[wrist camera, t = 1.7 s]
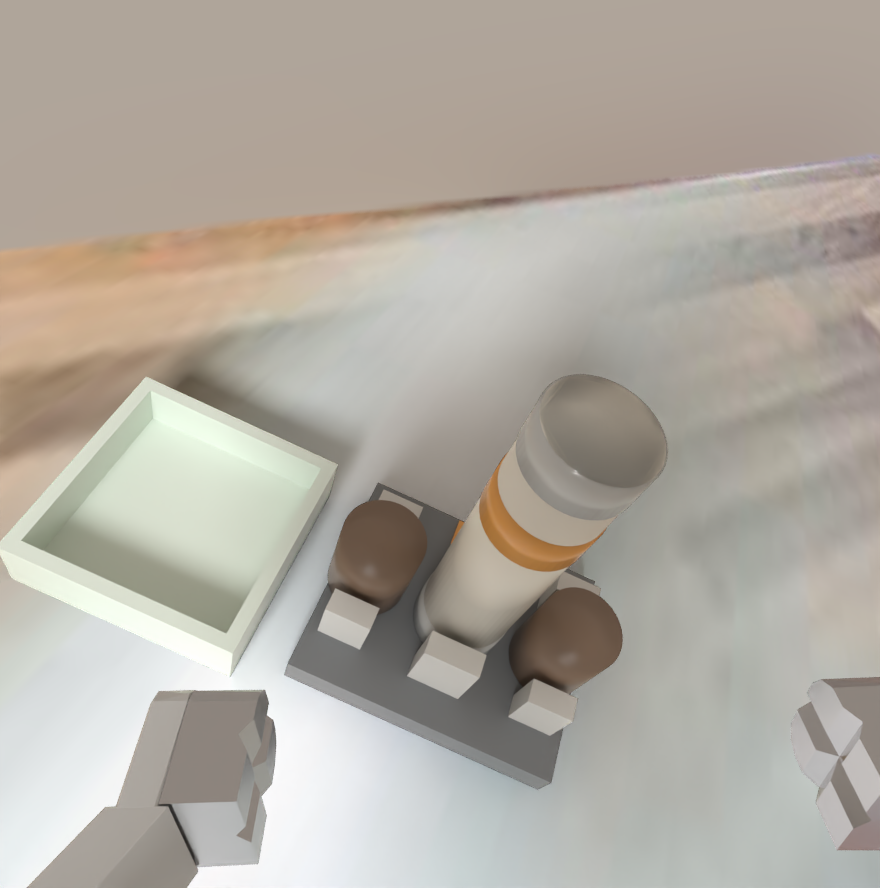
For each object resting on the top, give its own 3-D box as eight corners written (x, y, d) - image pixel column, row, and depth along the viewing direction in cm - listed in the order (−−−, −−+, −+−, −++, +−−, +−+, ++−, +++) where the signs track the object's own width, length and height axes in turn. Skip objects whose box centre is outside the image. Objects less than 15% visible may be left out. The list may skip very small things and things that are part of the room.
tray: (12, 578, 29) (-5, 546, 27) (149, 414, 36) (146, 376, 33) (230, 677, 30) (232, 653, 27) (329, 496, 36) (338, 464, 33)
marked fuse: (399, 639, 31) (522, 449, 19) (430, 563, 33) (555, 354, 22) (484, 678, 31) (658, 512, 19) (508, 598, 34) (674, 410, 22)
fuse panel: (284, 674, 30) (295, 638, 27) (372, 497, 36) (390, 449, 33) (537, 789, 30) (581, 768, 27) (582, 593, 37) (623, 555, 33)
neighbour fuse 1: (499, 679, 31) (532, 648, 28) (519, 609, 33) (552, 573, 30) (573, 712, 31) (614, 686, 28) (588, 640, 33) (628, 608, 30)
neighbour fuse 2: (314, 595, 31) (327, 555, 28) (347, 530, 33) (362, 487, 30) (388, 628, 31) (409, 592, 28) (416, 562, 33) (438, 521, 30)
